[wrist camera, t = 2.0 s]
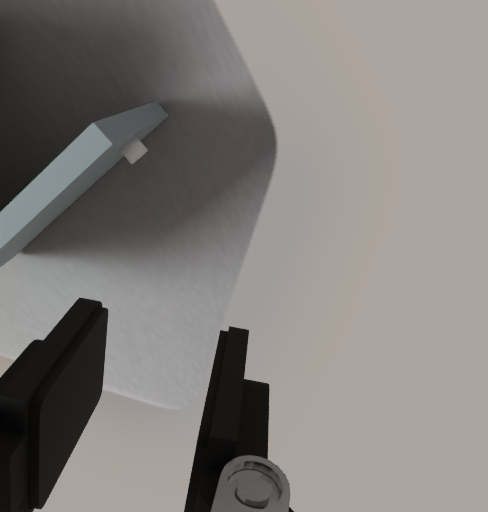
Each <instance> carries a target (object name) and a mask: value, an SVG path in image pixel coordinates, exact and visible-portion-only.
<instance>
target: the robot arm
mask: <svg viewBox="0 0 488 512" xmlns="http://www.w3.org/2000/svg"><path fill="white" fill-rule="evenodd" d="M107 322H108V309H107V308H103V307H102V303H101V302H100V301H95V300H90V299H85V298H79V299H78V300H77V301H76V302H75V303H74V305H73V306H72V307H71V308H70V309H69V311H68V312H67V313H66V314H65V315H64V317H63V318H62V319H61V320H60V321H59V323H58V324H57V325H56V326H55V327H54V329H53V330H52V331H51V332H50V333H49V335H48V336H47V337H46V338H45V339H44V341H43V340H38V339H37V340H34V341H33V342H31V343H30V344H29V345H28V347H27V348H26V349H25V350H24V351H23V352H22V354H21V355H20V356H19V357H18V358H17V359H16V360H15V362H14V363H13V364H12V365H11V366H10V367H9V369H8V370H7V371H6V372H5V373H4V374H3V375H2V377H1V378H0V512H33V510H34V508H36V509H42V507H43V506H44V504H45V503H46V501H47V499H48V497H49V495H50V493H51V491H52V489H53V488H54V486H55V484H56V482H57V480H58V478H59V476H60V474H61V472H62V470H63V469H64V467H65V465H66V463H67V461H68V459H69V457H70V455H71V453H72V451H73V449H74V448H75V446H76V444H77V442H78V440H79V438H80V436H81V434H82V432H83V430H84V428H85V426H86V425H87V423H88V421H89V419H90V417H91V415H92V413H93V411H94V409H95V407H96V406H97V404H98V401H99V399H100V396H101V393H102V387H103V374H104V361H105V348H106V335H107ZM248 335H249V330H246V329H240V328H235V327H229V330H228V332H227V331H222V330H220V335H219V340H218V345H217V349H216V354H215V359H214V364H213V368H212V373H211V378H210V383H209V388H208V392H207V397H206V401H205V406H204V411H203V416H202V420H201V425H200V430H199V436H198V440H197V445H196V451H195V456H194V462H193V467H192V472H191V478H190V483H189V488H188V494H187V499H186V504H185V510H184V512H294V511H293V510H292V509H291V508H290V507H289V501H290V486H289V482H288V480H287V478H286V475H285V474H284V473H283V472H282V470H281V469H280V468H279V467H278V466H277V465H275V464H274V463H272V462H271V461H269V460H268V421H269V420H268V419H269V384H267V383H262V382H256V381H252V380H246V379H244V372H245V363H246V353H247V344H248Z"/></svg>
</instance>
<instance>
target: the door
mask: <svg viewBox="0 0 488 512" xmlns="http://www.w3.org/2000/svg"><path fill="white" fill-rule="evenodd" d="M168 116H169V115H168V114H167V113H166V112H165V111H164V109H163V108H162V107H161V106H160V105H159V103H158V102H157V101H154V102H152V103H149V104H146V105H143V106H140V107H137V108H134V109H131V110H128V111H125V112H122V113H119V114H116V115H113V116H110V117H107V118H104V119H101V120H98V121H95V122H93V123H92V124H91V125H90V126H88V127H87V128H86V129H85V130H84V131H83V132H82V133H81V134H80V135H79V136H78V137H77V138H76V139H75V140H74V141H73V142H72V143H71V144H70V145H69V146H68V147H67V148H66V149H65V150H64V151H63V152H62V153H61V154H60V155H59V156H58V157H57V158H56V159H54V160H53V161H52V162H51V163H50V164H49V165H48V166H47V167H46V168H45V169H44V170H43V171H42V172H41V173H40V174H39V175H38V176H37V177H36V178H35V179H34V180H33V181H32V182H31V183H30V184H29V185H28V186H27V187H26V188H25V189H24V190H23V191H22V192H20V193H19V194H18V195H17V196H16V197H15V198H14V199H13V200H12V201H11V202H10V203H9V204H8V205H7V206H6V207H5V208H4V209H3V210H2V211H1V212H0V267H1V266H2V265H4V264H5V263H6V262H8V261H9V260H10V259H12V258H13V257H14V256H15V255H16V254H17V253H19V252H20V251H21V250H22V249H23V248H24V247H25V246H26V245H27V244H28V243H30V242H31V241H32V240H33V239H34V238H35V237H36V236H37V235H38V234H39V233H40V232H42V231H43V230H44V229H45V228H46V227H47V226H48V225H49V224H50V223H51V222H53V221H54V220H55V219H56V218H57V217H58V216H59V215H60V214H61V213H62V212H64V211H65V210H66V209H67V208H68V207H69V206H70V205H71V204H72V203H73V202H74V201H76V200H77V199H78V198H79V197H80V196H81V195H82V194H83V193H84V192H85V191H87V190H88V189H89V188H90V187H91V186H92V185H93V184H94V183H95V182H96V181H97V180H99V179H100V178H101V177H102V176H103V175H104V174H105V173H106V172H107V171H108V170H110V169H111V168H112V167H113V166H114V165H115V164H116V163H117V162H118V161H119V160H121V159H122V158H123V157H124V156H125V158H126V159H127V160H128V161H129V162H130V163H131V164H133V163H135V162H136V161H137V160H138V159H139V158H140V157H142V156H143V155H144V154H145V153H146V152H147V151H148V149H147V148H146V147H145V146H144V145H143V144H142V143H141V140H142V139H144V138H145V137H146V136H147V135H148V134H149V133H150V132H151V131H152V130H153V129H154V128H156V127H157V126H158V125H159V124H160V123H161V122H162V121H163V120H164V119H165V118H167V117H168Z"/></svg>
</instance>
